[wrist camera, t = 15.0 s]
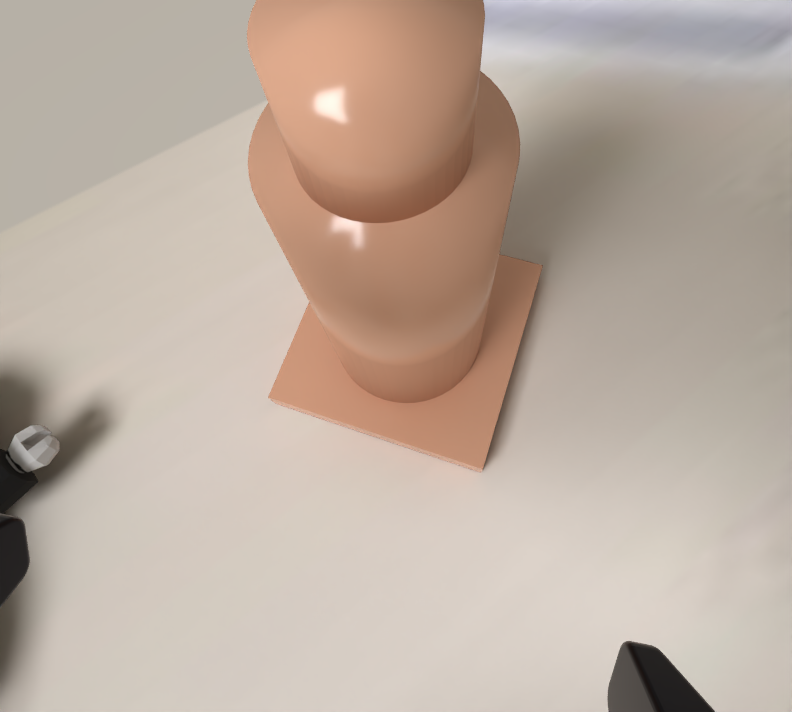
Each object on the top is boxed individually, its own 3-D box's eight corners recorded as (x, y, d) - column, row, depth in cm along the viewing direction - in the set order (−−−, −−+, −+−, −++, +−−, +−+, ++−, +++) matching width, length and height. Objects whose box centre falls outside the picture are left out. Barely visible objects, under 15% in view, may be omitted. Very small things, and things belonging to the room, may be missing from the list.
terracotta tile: (480, 472, 21) (482, 469, 20) (275, 403, 23) (268, 397, 22) (538, 276, 24) (542, 265, 23) (350, 227, 25) (346, 214, 24)
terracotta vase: (498, 384, 21) (599, 116, 8) (349, 417, 21) (204, 204, 8) (460, 255, 23) (490, -129, 10) (325, 285, 23) (177, -59, 10)
